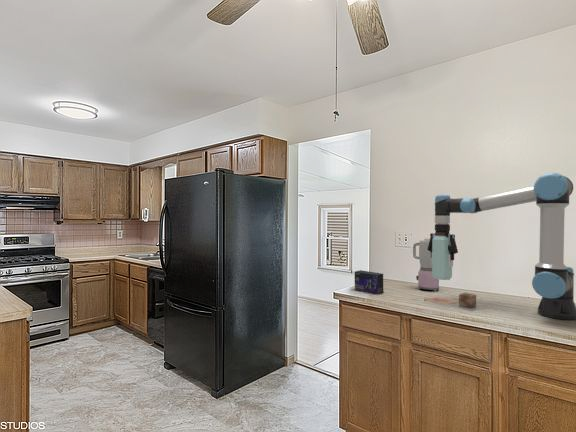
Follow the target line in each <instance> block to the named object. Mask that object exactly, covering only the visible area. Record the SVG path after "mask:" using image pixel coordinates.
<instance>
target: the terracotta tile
mask: <svg viewBox="0 0 576 432" xmlns="http://www.w3.org/2000/svg"><path fill="white" fill-rule="evenodd" d="M423 301H424V302H426V301H430V302H433V303H438V304H440V305H450V304H456V303H459V300H455V299H453V298H448V297H443V296H436V297H430V298H429V297H428V298H424V299H423Z"/></svg>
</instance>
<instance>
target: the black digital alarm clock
mask: <svg viewBox="0 0 576 432" xmlns="http://www.w3.org/2000/svg"><path fill="white" fill-rule="evenodd" d="M354 290H355V291H357V290H358V291H359V292H362V291H363V292H364V293H367V292H368V293H367V294H372V295H377V296H378V295H382V294H384V273H380V272H374V271H370V270H369V271H368V270H361V269H360V270H356V271H354ZM358 291H357V292H358Z"/></svg>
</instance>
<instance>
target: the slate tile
mask: <svg viewBox="0 0 576 432" xmlns="http://www.w3.org/2000/svg"><path fill="white" fill-rule="evenodd" d="M448 306H449V307H453V308H457V309H462V310H466V311H469V312H474V311H480V310H485V309H487V307H485V306H481V305H477V304H476V307H474V308H472V309H471V308H465V307H460V306H459V302H456V303H450V304H448Z"/></svg>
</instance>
